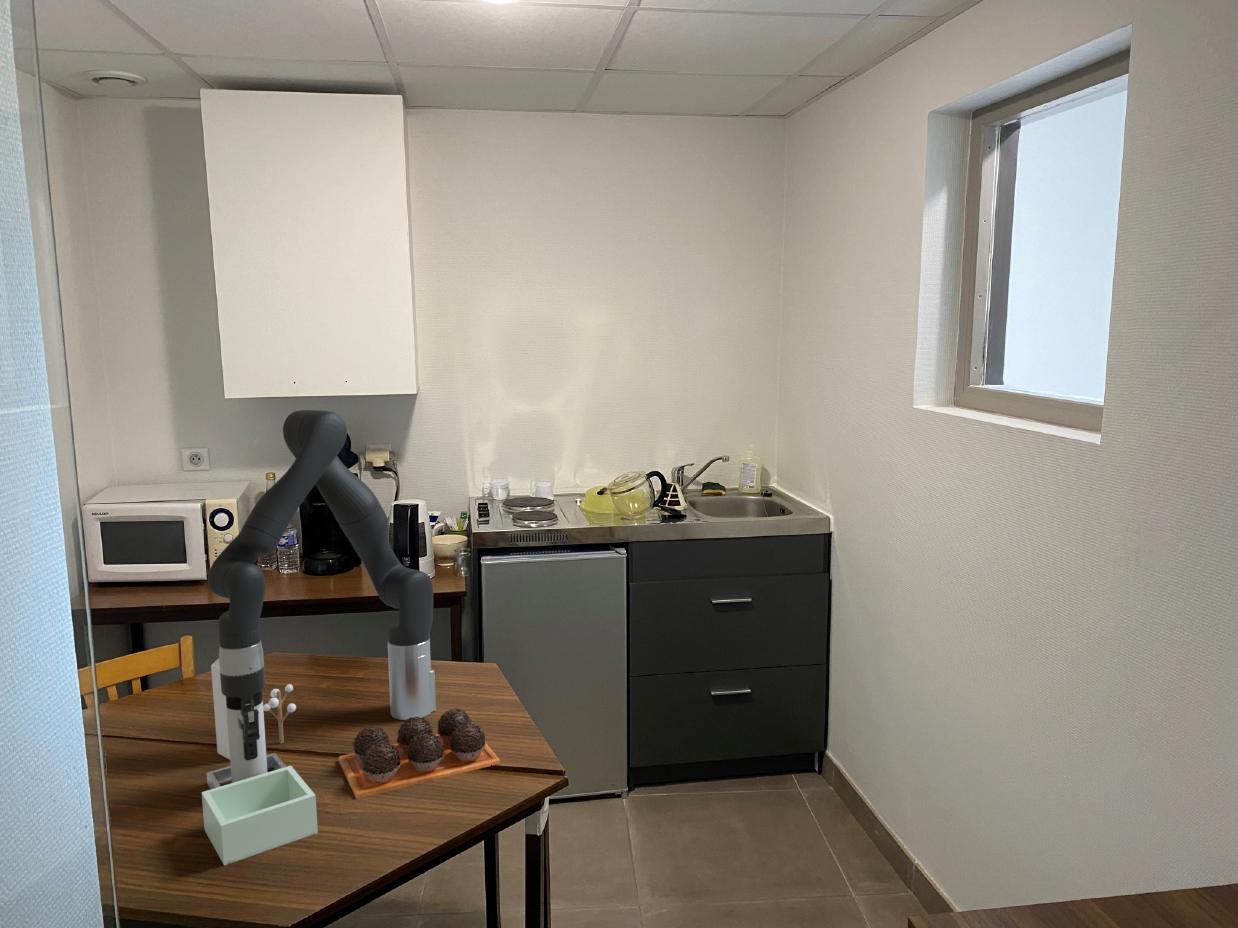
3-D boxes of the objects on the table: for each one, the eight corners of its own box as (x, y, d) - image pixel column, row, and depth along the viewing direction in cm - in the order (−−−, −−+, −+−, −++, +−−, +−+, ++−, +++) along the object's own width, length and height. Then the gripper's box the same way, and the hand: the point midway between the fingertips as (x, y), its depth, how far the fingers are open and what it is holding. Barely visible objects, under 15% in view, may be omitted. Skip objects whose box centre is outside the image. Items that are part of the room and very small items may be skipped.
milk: (244, 742, 182) (238, 641, 178) (260, 750, 178) (254, 647, 175) (216, 753, 177) (209, 649, 174) (232, 762, 173) (225, 656, 170)
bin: (293, 802, 158) (291, 765, 157) (317, 834, 148) (315, 795, 147) (204, 831, 149) (201, 792, 148) (224, 867, 139) (221, 825, 138)
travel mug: (254, 797, 160) (247, 694, 157) (224, 792, 162) (217, 690, 159) (276, 781, 166) (270, 681, 163) (248, 776, 168) (241, 677, 165)
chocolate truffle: (472, 733, 187) (471, 696, 185) (500, 766, 172) (499, 726, 171) (338, 763, 174) (336, 724, 172) (356, 802, 159) (354, 759, 158)
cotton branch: (298, 747, 179) (294, 692, 177) (264, 752, 177) (260, 696, 175) (299, 732, 186) (296, 679, 184) (266, 736, 184) (263, 682, 182)
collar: (275, 764, 172) (275, 752, 172) (294, 788, 163) (294, 776, 163) (207, 784, 164) (206, 772, 164) (223, 811, 155) (222, 798, 155)
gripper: (271, 674, 156) (276, 761, 159) (256, 650, 168) (261, 731, 171) (226, 683, 152) (232, 772, 155) (214, 658, 164) (220, 741, 167)
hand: (247, 750), depth 163 cm, fingers closed on travel mug, 6 cm apart
